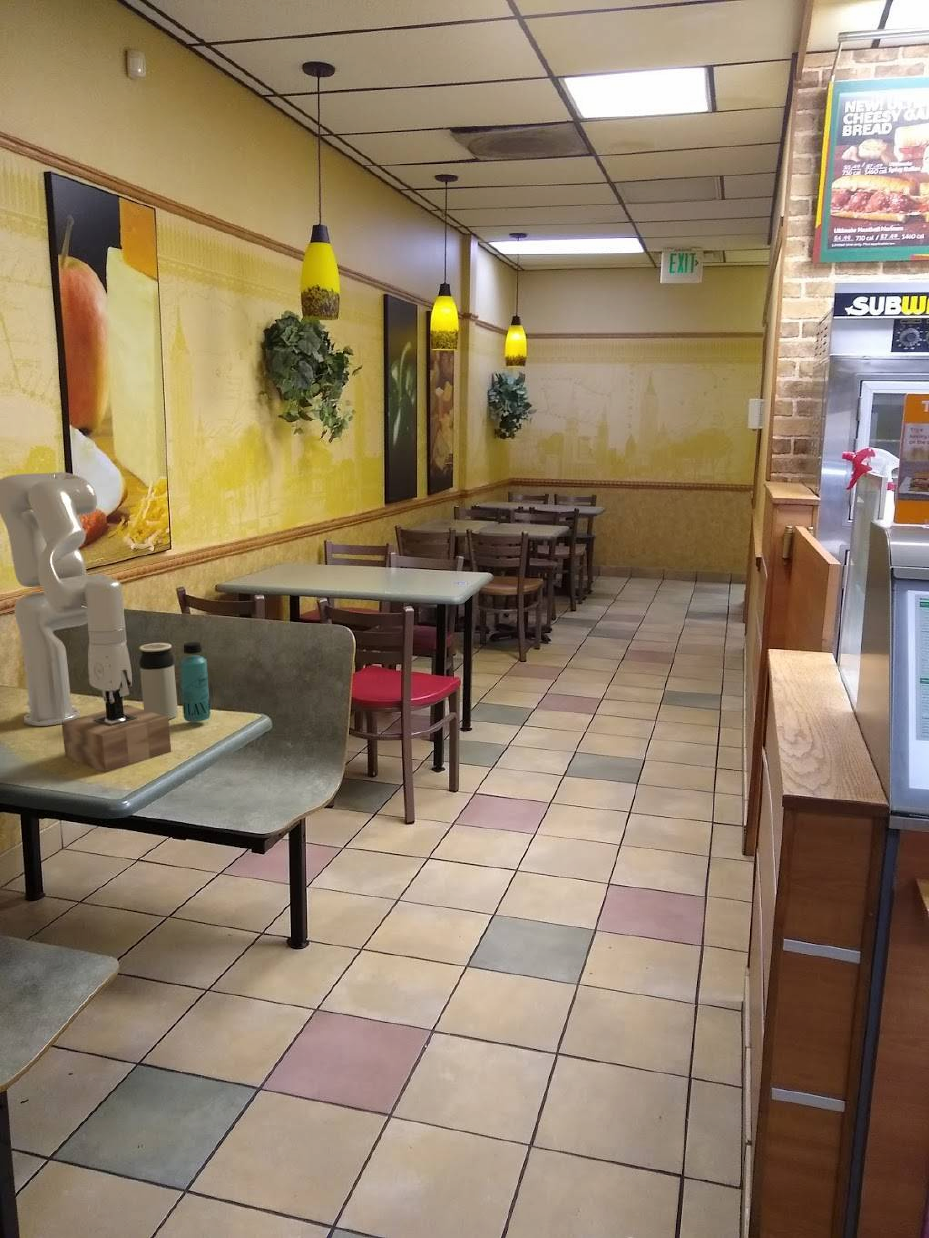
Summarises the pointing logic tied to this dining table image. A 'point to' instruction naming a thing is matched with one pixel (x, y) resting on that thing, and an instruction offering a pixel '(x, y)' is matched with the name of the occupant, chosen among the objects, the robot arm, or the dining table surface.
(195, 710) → the beverage bottle
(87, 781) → the dining table surface
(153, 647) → the travel mug
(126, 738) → the block
